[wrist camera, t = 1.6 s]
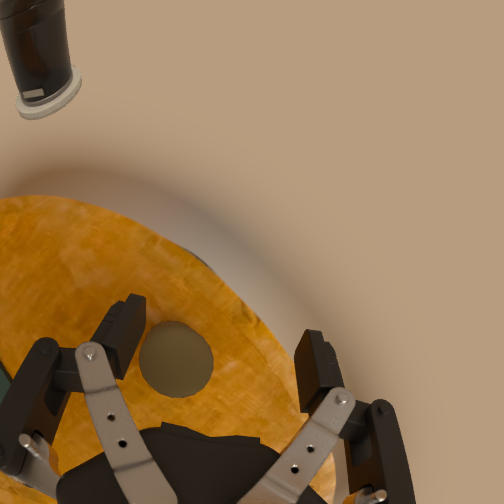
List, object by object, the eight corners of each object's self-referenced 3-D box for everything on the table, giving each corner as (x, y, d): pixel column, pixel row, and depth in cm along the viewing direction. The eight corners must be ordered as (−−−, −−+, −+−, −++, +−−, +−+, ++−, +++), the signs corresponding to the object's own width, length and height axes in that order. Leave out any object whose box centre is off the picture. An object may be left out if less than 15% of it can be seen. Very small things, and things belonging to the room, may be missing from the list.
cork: (213, 350, 27) (242, 365, 17) (173, 389, 25) (179, 426, 14) (173, 308, 27) (178, 299, 17) (131, 346, 24) (111, 360, 14)
